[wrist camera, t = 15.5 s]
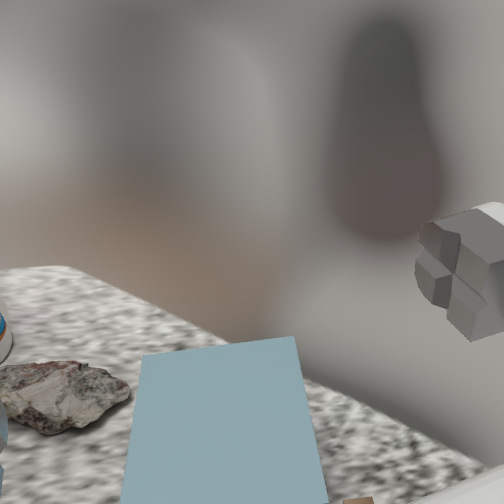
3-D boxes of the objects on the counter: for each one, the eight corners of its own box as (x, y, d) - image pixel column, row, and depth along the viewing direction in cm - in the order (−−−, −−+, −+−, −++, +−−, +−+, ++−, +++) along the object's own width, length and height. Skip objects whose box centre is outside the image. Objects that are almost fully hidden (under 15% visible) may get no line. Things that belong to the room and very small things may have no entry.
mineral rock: (140, 386, 48) (129, 357, 45) (96, 456, 42) (80, 427, 39) (27, 360, 53) (11, 333, 50) (-27, 420, 47) (-48, 392, 44)
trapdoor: (97, 676, 22) (73, 651, 20) (143, 375, 38) (132, 343, 36) (364, 641, 22) (366, 612, 20) (301, 354, 38) (299, 321, 36)
